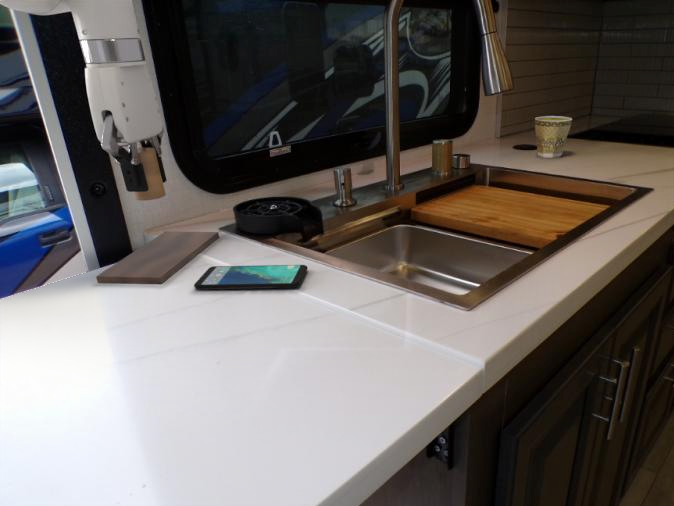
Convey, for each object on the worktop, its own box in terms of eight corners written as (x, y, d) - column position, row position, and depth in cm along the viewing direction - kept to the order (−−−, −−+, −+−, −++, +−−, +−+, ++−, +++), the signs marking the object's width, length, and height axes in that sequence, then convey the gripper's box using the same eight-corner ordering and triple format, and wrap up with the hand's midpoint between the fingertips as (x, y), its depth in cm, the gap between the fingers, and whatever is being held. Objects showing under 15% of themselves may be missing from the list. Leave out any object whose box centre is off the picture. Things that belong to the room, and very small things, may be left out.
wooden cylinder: (128, 200, 79) (116, 153, 76) (144, 192, 83) (133, 147, 80) (156, 200, 78) (144, 153, 75) (171, 192, 82) (160, 147, 79)
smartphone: (210, 265, 79) (308, 264, 78) (211, 270, 79) (308, 268, 79) (191, 285, 73) (298, 284, 72) (192, 290, 73) (298, 288, 72)
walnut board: (97, 282, 77) (95, 276, 76) (166, 236, 94) (165, 231, 94) (161, 284, 76) (160, 277, 75) (219, 237, 93) (218, 231, 93)
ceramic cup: (565, 159, 143) (569, 121, 138) (528, 157, 146) (531, 120, 142) (571, 151, 153) (575, 115, 149) (537, 149, 157) (540, 114, 152)
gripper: (124, 54, 80) (153, 174, 88) (45, 58, 65) (89, 202, 73) (170, 52, 79) (196, 173, 87) (101, 56, 64) (140, 202, 72)
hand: (147, 185), depth 80 cm, fingers closed on wooden cylinder, 4 cm apart
